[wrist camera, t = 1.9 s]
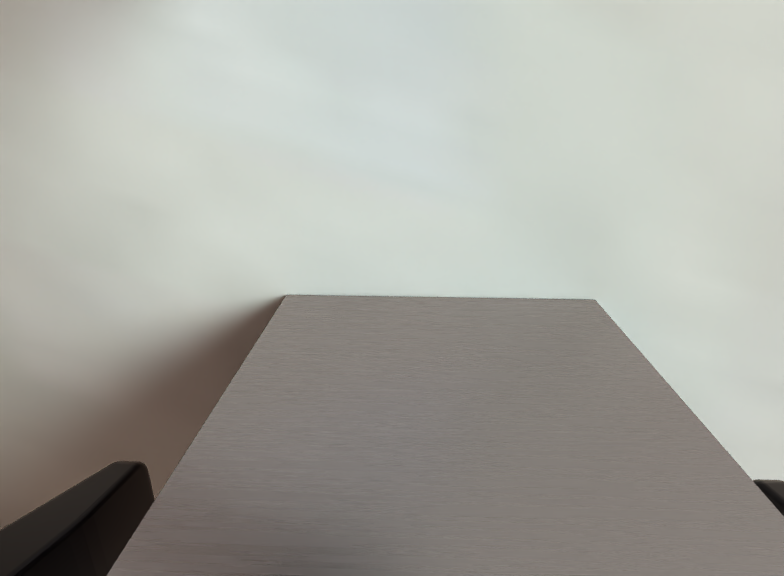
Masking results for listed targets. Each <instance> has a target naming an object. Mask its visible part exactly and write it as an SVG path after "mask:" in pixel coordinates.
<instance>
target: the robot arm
mask: <svg viewBox="0 0 784 576" xmlns="http://www.w3.org/2000/svg"><path fill="white" fill-rule="evenodd" d="M753 482H754V483H755V484H756V485H757V486H758V488H759V489H760V490H761V491H762V492H763V493H764V494H765V496H766V497H767V498H768V499H769V500H770V501H771V502H772V504H773V505H774V506H775V507H776V508H777V509H778V511H779V512H780V513H781V514H782V515H783V516H784V481H780V480H753ZM154 501H155V500H154V495H153V491H152V486H151V482H150V477H149V473H148V469H147V467H146V465H145V464H144V463H142V462H134V461H119V462H114V463H113V464H111V465H109V466H107V467H106V468H104V469H102V470H101V471H99V472H97V473H96V474H94V475H92V476H91V477H89V478H87V479H85V480H84V481H82V482H80V483H79V484H77V485H75V486H74V487H72V488H70V489H69V490H67V491H65V492H64V493H62V494H60V495H59V496H57V497H55V498H54V499H52V500H50V501H49V502H47V503H45V504H44V505H42V506H40V507H38V508H37V509H35V510H33V511H32V512H30V513H28V514H27V515H25V516H23V517H22V518H20V519H18V520H17V521H15V522H13V523H12V524H10V525H8V526H7V527H5V528H3V529H1V530H0V576H107V574H108V573H109V571H110V570H111V568H112V566H113V565H114V563H115V562H116V560H117V559H118V557H119V556H120V554H121V552H122V551H123V549H124V548H125V546H126V545H127V543H128V541H129V540H130V538H131V537H132V535H133V534H134V532H135V531H136V529H137V527H138V526H139V524H140V523H141V521H142V520H143V518H144V517H145V515H146V513H147V512H148V510H149V509H150V507H151V506H152V504H153V502H154Z"/></svg>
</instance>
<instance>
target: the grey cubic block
mask: <svg viewBox="0 0 784 576" xmlns="http://www.w3.org/2000/svg"><path fill="white" fill-rule="evenodd" d="M107 576H784V516H783V515H782V514H781V513H780V512H779V511H778V509H777V508H776V507H775V506H774V505H773V504H772V502H771V501H770V500H769V499H768V498H767V497H766V496H765V494H764V493H763V492H762V491H761V490H760V489H759V488H758V486H757V485H756V484H755V483H754V482H753V481H752V480H751V478H750V477H749V476H748V475H747V474H746V473H745V471H744V470H743V469H742V468H741V467H740V466H739V465H738V463H737V462H736V461H735V460H734V459H733V458H732V457H731V455H730V454H729V453H728V452H727V451H726V450H725V448H724V447H723V446H722V445H721V444H720V443H719V442H718V440H717V439H716V438H715V437H714V436H713V435H712V434H711V432H710V431H709V430H708V429H707V428H706V427H705V426H704V424H703V423H702V422H701V421H700V420H699V419H698V417H697V416H696V415H695V414H694V413H693V412H692V411H691V409H690V408H689V407H688V406H687V405H686V404H685V403H684V401H683V400H682V399H681V398H680V397H679V396H678V394H677V393H676V392H675V391H674V390H673V389H672V388H671V386H670V385H669V384H668V383H667V382H666V381H665V380H664V378H663V377H662V376H661V375H660V374H659V373H658V372H657V370H656V369H655V368H654V367H653V366H652V365H651V363H650V362H649V361H648V360H647V359H646V358H645V357H644V355H643V354H642V353H641V352H640V351H639V350H638V349H637V347H636V346H635V345H634V344H633V343H632V342H631V340H630V339H629V338H628V337H627V336H626V335H625V334H624V332H623V331H622V330H621V329H620V328H619V327H618V326H617V324H616V323H615V322H614V321H613V320H612V319H611V317H610V316H609V315H608V314H607V313H606V312H605V311H604V309H603V308H602V307H601V306H600V305H599V304H598V303H597V301H596V300H574V299H509V298H445V297H380V296H315V295H286V297H285V298H284V300H283V301H282V303H281V304H280V306H279V307H278V309H277V311H276V312H275V314H274V315H273V317H272V318H271V320H270V321H269V323H268V325H267V326H266V328H265V329H264V331H263V332H262V334H261V336H260V337H259V339H258V340H257V342H256V343H255V345H254V346H253V348H252V350H251V351H250V353H249V354H248V356H247V357H246V359H245V360H244V362H243V364H242V365H241V367H240V368H239V370H238V371H237V373H236V375H235V376H234V378H233V379H232V381H231V382H230V384H229V385H228V387H227V389H226V390H225V392H224V393H223V395H222V396H221V398H220V399H219V401H218V403H217V404H216V406H215V407H214V409H213V410H212V412H211V414H210V415H209V417H208V418H207V420H206V421H205V423H204V424H203V426H202V428H201V429H200V431H199V432H198V434H197V435H196V437H195V438H194V440H193V442H192V443H191V445H190V446H189V448H188V449H187V451H186V453H185V454H184V456H183V457H182V459H181V460H180V462H179V463H178V465H177V467H176V468H175V470H174V471H173V473H172V474H171V476H170V478H169V479H168V481H167V482H166V484H165V485H164V487H163V488H162V490H161V492H160V493H159V495H158V496H157V498H156V499H155V501H154V502H153V504H152V506H151V507H150V509H149V510H148V512H147V513H146V515H145V517H144V518H143V520H142V521H141V523H140V524H139V526H138V527H137V529H136V531H135V532H134V534H133V535H132V537H131V538H130V540H129V541H128V543H127V545H126V546H125V548H124V549H123V551H122V552H121V554H120V556H119V557H118V559H117V560H116V562H115V563H114V565H113V566H112V568H111V570H110V571H109V573H108V574H107Z"/></svg>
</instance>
